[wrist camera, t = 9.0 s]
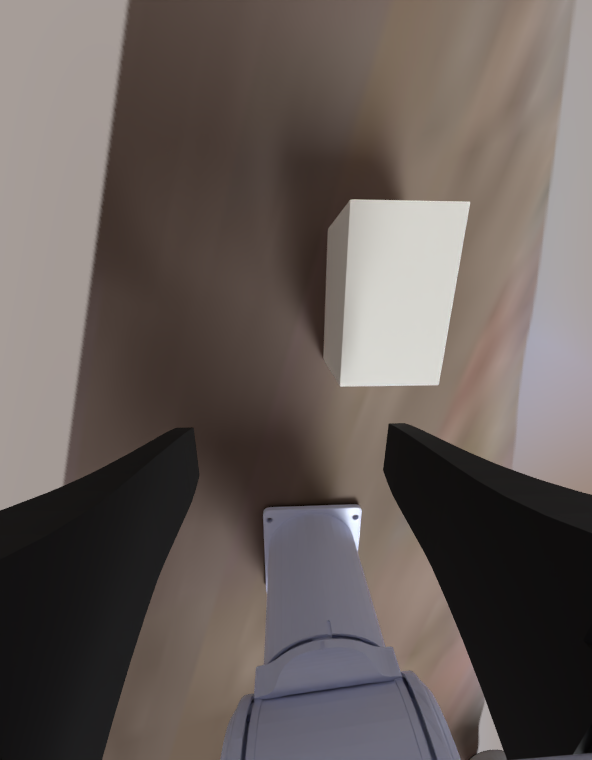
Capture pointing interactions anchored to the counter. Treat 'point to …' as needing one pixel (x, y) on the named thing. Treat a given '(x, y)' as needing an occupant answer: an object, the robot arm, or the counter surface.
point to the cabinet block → (391, 290)
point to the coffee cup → (490, 755)
